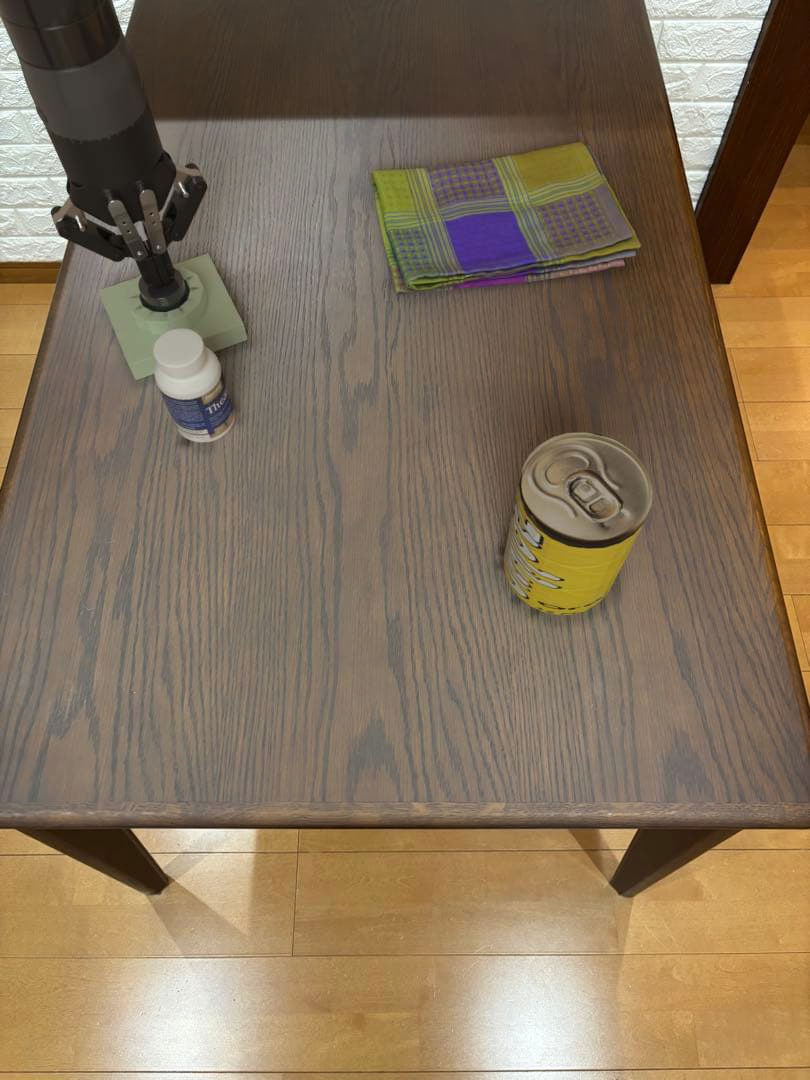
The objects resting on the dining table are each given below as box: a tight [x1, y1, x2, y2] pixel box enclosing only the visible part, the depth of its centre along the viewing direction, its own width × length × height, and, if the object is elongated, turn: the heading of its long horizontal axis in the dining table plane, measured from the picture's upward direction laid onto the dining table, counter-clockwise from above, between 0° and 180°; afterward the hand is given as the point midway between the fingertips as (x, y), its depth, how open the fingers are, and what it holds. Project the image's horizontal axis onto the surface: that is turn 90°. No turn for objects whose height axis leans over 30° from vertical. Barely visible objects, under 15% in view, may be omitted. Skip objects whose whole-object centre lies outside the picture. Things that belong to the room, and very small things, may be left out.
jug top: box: [98, 253, 249, 381], centre depth 77 cm, size 11×10×4 cm
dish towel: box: [370, 141, 642, 296], centre depth 83 cm, size 18×24×3 cm
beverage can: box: [502, 431, 654, 616], centre depth 61 cm, size 9×9×12 cm
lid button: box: [138, 268, 187, 312], centre depth 75 cm, size 4×4×2 cm
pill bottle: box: [153, 328, 236, 443], centre depth 69 cm, size 5×5×10 cm
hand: (160, 280), depth 74 cm, fingers closed
